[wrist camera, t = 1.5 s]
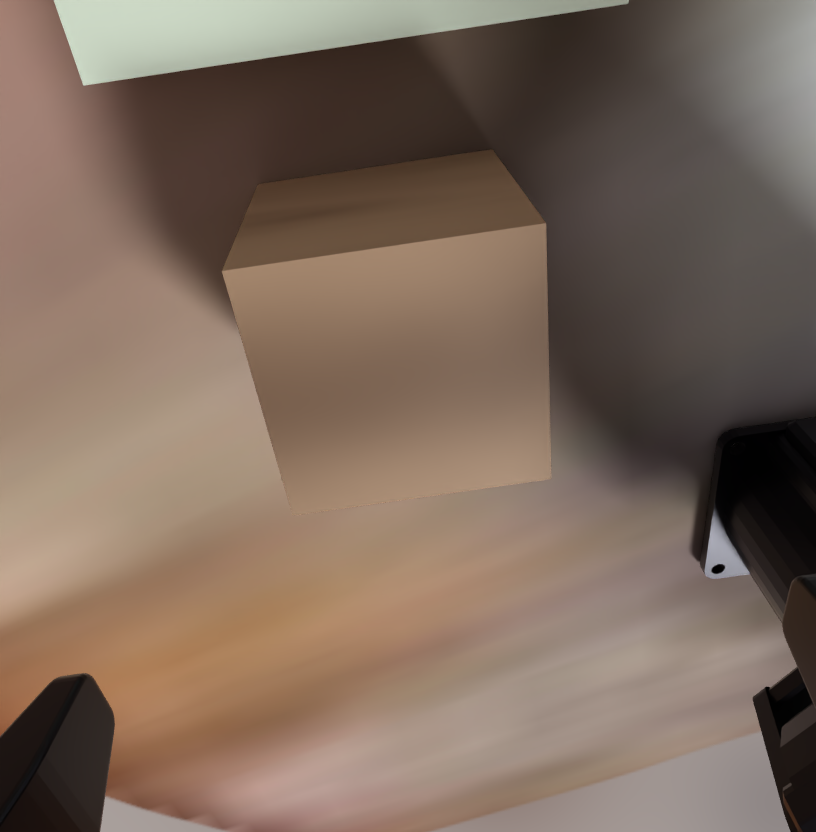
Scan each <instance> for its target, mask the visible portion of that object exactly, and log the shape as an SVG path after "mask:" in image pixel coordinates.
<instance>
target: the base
mask: <svg viewBox="0 0 816 832" xmlns="http://www.w3.org/2000/svg"><path fill="white" fill-rule="evenodd" d="M54 2H55V5H56V8H57V11H58V14H59V17H60V19H61V22H62V25H63V28H64V31H65V34H66V37H67V40H68V42H69V45H70V48H71V51H72V54H73V57H74V60H75V63H76V65H77V68H78V71H79V74H80V77H81V80H82V83H83V86H84V85H91V84H98V83H104V82H111V81H117V80H124V79H131V78H137V77H144V76H151V75H157V74H164V73H171V72H177V71H184V70H191V69H197V68H204V67H211V66H217V65H224V64H231V63H237V62H244V61H251V60H257V59H264V58H271V57H277V56H284V55H291V54H297V53H304V52H310V51H317V50H324V49H330V48H337V47H344V46H350V45H357V44H364V43H370V42H377V41H384V40H390V39H397V38H404V37H410V36H417V35H424V34H430V33H437V32H444V31H450V30H457V29H464V28H470V27H477V26H483V25H490V24H497V23H503V22H510V21H517V20H523V19H530V18H537V17H543V16H550V15H557V14H563V13H570V12H577V11H583V10H590V9H597V8H603V7H610V6H617V5H623V4H629V0H54Z"/></svg>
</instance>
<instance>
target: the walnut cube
mask: <svg viewBox="0 0 816 832" xmlns="http://www.w3.org/2000/svg"><path fill="white" fill-rule="evenodd" d="M222 274H223V277H224V281H225V284H226V287H227V291H228V294H229V298H230V301H231V305H232V308H233V312H234V315H235V319H236V322H237V325H238V329H239V332H240V336H241V339H242V343H243V346H244V350H245V353H246V356H247V360H248V363H249V367H250V370H251V374H252V377H253V381H254V384H255V388H256V391H257V394H258V398H259V401H260V405H261V408H262V412H263V415H264V419H265V422H266V426H267V429H268V432H269V436H270V439H271V443H272V446H273V450H274V453H275V457H276V460H277V464H278V467H279V470H280V474H281V477H282V481H283V484H284V488H285V491H286V495H287V498H288V501H289V505H290V508H291V512H292V515H293V516H295V515H302V514H309V513H316V512H323V511H330V510H337V509H344V508H351V507H358V506H365V505H372V504H379V503H386V502H393V501H400V500H407V499H414V498H421V497H428V496H435V495H442V494H449V493H456V492H463V491H470V490H477V489H484V488H491V487H498V486H505V485H512V484H519V483H526V482H533V481H540V480H547V479H551V440H550V390H549V340H548V291H547V241H546V222H545V221H544V220H543V218H542V217H541V215H540V214H539V213H538V211H537V210H536V209H535V207H534V206H533V204H532V203H531V202H530V200H529V199H528V198H527V196H526V195H525V193H524V192H523V191H522V189H521V188H520V187H519V185H518V184H517V182H516V181H515V180H514V178H513V177H512V176H511V174H510V173H509V172H508V170H507V169H506V167H505V166H504V165H503V163H502V162H501V161H500V159H499V158H498V156H497V155H496V154H495V152H494V151H493V150H492V149H489V150H483V151H476V152H469V153H463V154H456V155H449V156H443V157H436V158H429V159H423V160H416V161H409V162H402V163H396V164H389V165H382V166H376V167H369V168H362V169H356V170H349V171H342V172H335V173H329V174H322V175H315V176H309V177H302V178H295V179H289V180H282V181H275V182H269V183H262V184H258V185H257V187H256V190H255V192H254V195H253V197H252V199H251V202H250V204H249V207H248V209H247V211H246V214H245V216H244V219H243V221H242V223H241V226H240V228H239V231H238V233H237V236H236V238H235V240H234V243H233V245H232V248H231V250H230V252H229V255H228V257H227V260H226V262H225V264H224V267H223V269H222Z"/></svg>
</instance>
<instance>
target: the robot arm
mask: <svg viewBox="0 0 816 832" xmlns="http://www.w3.org/2000/svg"><path fill="white" fill-rule="evenodd" d="M737 442H739V443H738V444H737V445H736V446H735V447H732V448H731V446H732V445H733V444H735V443H737ZM700 566H701V568H702V570H703V572H704V573H705V575H706V576H707V577H709V578H711V579H717V578H725V577H732V576H739V575H746V574H751V576H752V578H753V579H754V581H755V582H756V584H757V585H758V587H759V588H760V590H761V591H762V593H763V595H764V596H765V598H766V599H767V601H768V602H769V604H770V605H771V607H772V609H773V610H774V612H775V613H776V615H777V616H778V618H779V619H780V621H781V622H782V627H783V632H784V636H785V638H786V641H787V643H788V646H789V648H790V650H791V653H792V655H793V657H794V660H795V662H796V664H797V667H796V668H795V669H794V670H793V671H791V672H790V673H789V674H787V675H786V676H785V677H784V678H782V679H781V680H780V681H778V682H777V683H776V684H775V685H773V686H772V687H771V688H770V687H765V688H764V689H763V690H761V691H760V692H759V693H758V694H756V695H755V696H754V697H753V702H754V706H755V710H756V713H757V717H758V720H759V724H760V728H761V731H762V735H763V738H764V742H765V746H766V750H767V753H768V757H769V760H770V764H771V768H772V771H773V775H774V778H775V782H776V786H777V789H778V793H779V797H780V800H781V804H782V808H783V811H784V815H785V817H786V820H787V823H788V826H789V829H790V831H791V832H816V417H814V418H807V419H800V420H793V421H786V422H779V423H772V424H765V425H758V426H751V427H744V428H737V429H732V430H729V431H727V432H725V433H724V434H722V435H721V437H720V438H719V439H718V442H717V446H716V453H715V460H714V467H713V475H712V482H711V489H710V496H709V503H708V510H707V517H706V525H705V532H704V539H703V546H702V553H701V560H700ZM114 727H115V721H114V715H113V711H112V709H111V707H110V705H109V703H108V702H107V700H106V698H105V697H104V695H103V693H102V692H101V690H100V688H99V686H98V685H97V683H96V681H95V680H94V678H93V677H92V676H91V675H89V674H87V673H82V674H74V675H67V676H61V677H58V678H56V679H54V680H53V681H52V682H50V683H49V684H48V685H47V686H46V687H45V689H44V690H43V691H42V692H41V693H40V694H39V695H38V696H37V697H36V698H35V699H34V700H33V701H32V703H31V704H30V705H29V706H28V707H27V708H26V709H25V710H24V711H23V712H22V713H21V714H20V716H19V717H18V718H17V719H16V720H15V721H14V722H13V723H12V724H11V725H10V726H9V727H8V728H7V730H6V731H5V732H4V733H3V734H2V735H1V736H0V832H100V828H101V821H102V814H103V807H104V800H105V793H106V785H107V778H108V771H109V764H110V757H111V750H112V743H113V735H114Z"/></svg>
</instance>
